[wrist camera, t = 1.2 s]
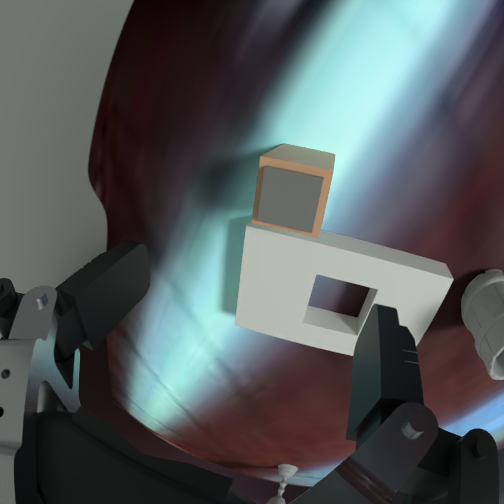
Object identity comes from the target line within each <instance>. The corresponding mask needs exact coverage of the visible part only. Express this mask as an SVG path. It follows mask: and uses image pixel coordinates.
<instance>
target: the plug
mask: <svg viewBox="0 0 504 504" xmlns="http://www.w3.org/2000/svg"><path fill="white" fill-rule="evenodd" d="M334 162H335V154H333V153H328V152H324V151H319V150H315V149H310V148H305V147H300V146H295V145H289V144H282V145H280V146H278V147H276V148H275V149H273V150H271V151H269V152H267V153H265V154H263V155H262V156H260V162H259V170H258V178H257V186H256V193H255V201H254V209H253V217H252V223H256V224H260V225H265V226H269V227H273V228H278V229H282V230H286V231H290V232H294V233H298V234H303V235H307V236H311V237H315V238H319V234H320V230H321V225H322V221H323V217H324V212H325V208H326V203H327V199H328V194H329V190H330V185H331V180H332V175H333V170H334Z"/></svg>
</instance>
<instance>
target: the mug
mask: <svg viewBox="0 0 504 504" xmlns="http://www.w3.org/2000/svg"><path fill="white" fill-rule="evenodd" d="M485 272H486V273H485V274H479V275H478V276H476V277H475V278H474V279H473V280H472V281H471V282H470V283H469V284H468V286H467V287H466V289H465V293H463V295H462V299H461V309H462V319H463V322H464V324H465V326H466V327H467V329H468V330H470V331H471V332H472V334H473V337H474V339H475V341H476V343H475V347H476V350H477V352H478V355H479V357H481V358H482V359H483V361H484V363H485V366H486V368H487V371H488V374H489V375H490V376H491V378H492V379H495V380H504V273H503V272H502V271H501V270H498V269H490V270H487V271H485Z"/></svg>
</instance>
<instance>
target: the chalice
mask: <svg viewBox="0 0 504 504" xmlns="http://www.w3.org/2000/svg"><path fill="white" fill-rule="evenodd" d="M278 468H279V469H278V470H279V474H280V475H281V476H282V477H283V480H282V482H281V483H280V488H279V489H278V495H277V497H273V498H272V499H270V500H269V501H268V502H267V503H266V504H285V500H284V499H283V498H281V496H282V493H283V492H284V487H285V485H287V484H286V480H287V478H288V477H292V476H293V475H294V474H295V473H296V471H297V470H298V468H297V467H295V466H292V465H288V464H280V465H278Z"/></svg>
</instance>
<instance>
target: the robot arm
mask: <svg viewBox="0 0 504 504" xmlns="http://www.w3.org/2000/svg"><path fill="white" fill-rule="evenodd" d="M149 286H150V272H149V262H148V251H147V247H146V245H144V244H142V243H138V242H134V241H131V240H124V241H123V242H121V243H120V244H119V245H117V246H116V247H114V248H113V249H112V250H109V251H107V252H104V253H102V254H100V255H99V256H97V257H96V258H95V259H93V260H92V261H91V263H90V262H89V263H88V264H86V265H85V266H84V267H83V268H81V269H80V270H78V271H77V272H76V273H74V274H73V275H72V276H70V277H69V278H68V279H67V280H65V281H64V282H63V283H62V284H60V285H59V286H58V287H56V288H55V289H54V288H53V287H51V286H38V287H35V288H33V289H31V290H30V291H28V292H27V293H26V294H22V293H17V292H15V289H14V287H13V284H12V282H11V280H10V279H7V278H1V279H0V333H1V334H2V336H3V337H2V338H1V339H0V504H256V503H254V502H253V501H252V500H251V499H250V498H249V497H248V496H246V495H245V494H243V493H242V492H241V491H239V490H237V489H236V488H234V487H232V482H233V479H232V478H229V477H225V476H223V475H220V474H216V473H214V472H211V471H208V470H205V469H203V468H200V467H197V466H195V465H192V464H190V463H184V462H179V461H173V460H168V459H163V458H158V457H154V456H150V455H146V454H143V453H141V452H140V451H139V450H137V449H136V448H135V447H134V446H133V445H132V444H131V443H129V442H128V441H127V440H126V439H125V438H124V437H123V436H122V435H121V434H120V433H119V432H118V431H117V430H116V429H115V428H114V427H113V426H111V425H110V424H109V423H107V422H105V421H104V420H102V419H100V418H99V417H97V416H96V415H94V414H92V413H91V412H89V411H88V410H86V409H85V408H83V407H82V406H81V405H80V402H79V398H78V379H79V361H80V352H79V349H78V348H79V347H80V346H81V345H82V344H83V345H84V346H86V347H88V348H90V349H92V350H94V349H95V348H96V347H97V346H98V345H99V343H101V341H102V340H103V339H104V338H105V337H106V336H107V335H108V334H109V333H110V332H111V331H112V330H113V329H114V327H115V326H116V325H117V324H118V323H119V322H120V321H121V320H122V319H123V318H124V317H125V316H126V315H127V314H128V313H129V312H130V311H131V309H132V308H133V307H134V306H135V305H136V304H137V303H138V302H139V301H140V300H141V299H142V298H143V297H144V296H145V295H146V293H147V292H148V289H149ZM416 353H417V349H416V344H415V339H414V337H413V335H412V334H411V332H410V331H409V329H408V328H407V327H406V326H402V325H400V324H399V318H398V312H397V309H396V308H393V307H389V306H384V305H380V304H376V303H375V304H373V306H372V308H371V310H370V312H369V314H368V317H367V319H366V321H365V323H364V326H363V328H362V330H361V332H360V334H359V336H358V339H357V342H356V345H355V349H354V355H353V371H352V385H351V397H350V407H349V416H348V425H347V433H346V440H353V441H357V443H356V450H355V451H354V452H353V453H352V454H351V455H350V456H349V457H348V458H347V459H346V460H344V461H343V462H342V463H341V464H340V465H339V466H337V467H336V468H335V469H334V470H333V471H332V472H330V473H329V474H328V475H327V476H325V477H324V478H323V479H322V480H320V481H319V482H318V483H317V484H315V485H314V486H313V487H311V488H310V489H309V490H307V491H306V492H305V493H303V494H302V495H301V496H299V497H298V498H296V499H295V500H293V501H292V502H290V503H289V504H392V502H391V501H390V499H391V497H392V496H393V495H394V494H395V492H396V491H397V490H398V491H401V492H404V497H403V504H499V470H498V454H497V446H496V443H495V440H494V438H493V437H492V436H491V435H490V433H488V432H487V431H485V430H483V429H479V428H478V429H472V430H470V431H469V432H468V433H467V434H465V435H464V436H463V437H461V436H458V435H456V434H453V433H451V432H448V431H445V430H443V429H441V428H439V427H438V422H437V419H436V417H435V415H434V414H433V412H432V411H431V410H430V409H429V408H427V407H426V406H424V401H423V391H422V383H421V375H420V368H419V365H418V355H417V354H416Z"/></svg>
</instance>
